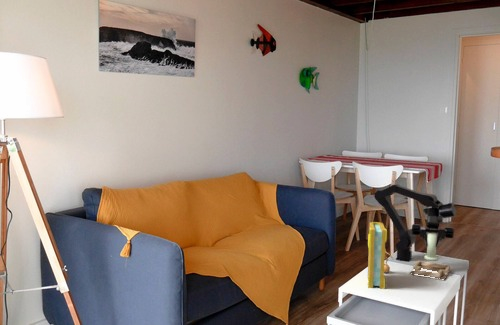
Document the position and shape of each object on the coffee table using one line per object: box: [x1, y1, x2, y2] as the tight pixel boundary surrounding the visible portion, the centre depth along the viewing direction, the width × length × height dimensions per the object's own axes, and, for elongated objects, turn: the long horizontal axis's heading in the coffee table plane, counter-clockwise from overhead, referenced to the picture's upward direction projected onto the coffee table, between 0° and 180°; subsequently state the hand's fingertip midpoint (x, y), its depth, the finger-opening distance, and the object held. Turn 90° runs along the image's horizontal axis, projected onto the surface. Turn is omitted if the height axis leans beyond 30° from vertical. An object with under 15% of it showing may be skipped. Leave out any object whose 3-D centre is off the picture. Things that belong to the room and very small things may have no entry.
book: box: [367, 221, 388, 290], centre depth 205 cm, size 17×7×25 cm, turn 168°
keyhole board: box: [409, 260, 451, 280], centre depth 221 cm, size 15×18×2 cm
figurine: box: [384, 248, 394, 274], centre depth 218 cm, size 8×6×12 cm
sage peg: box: [423, 233, 439, 262], centre depth 221 cm, size 6×6×12 cm
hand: (431, 246), depth 220 cm, fingers closed on sage peg, 4 cm apart
